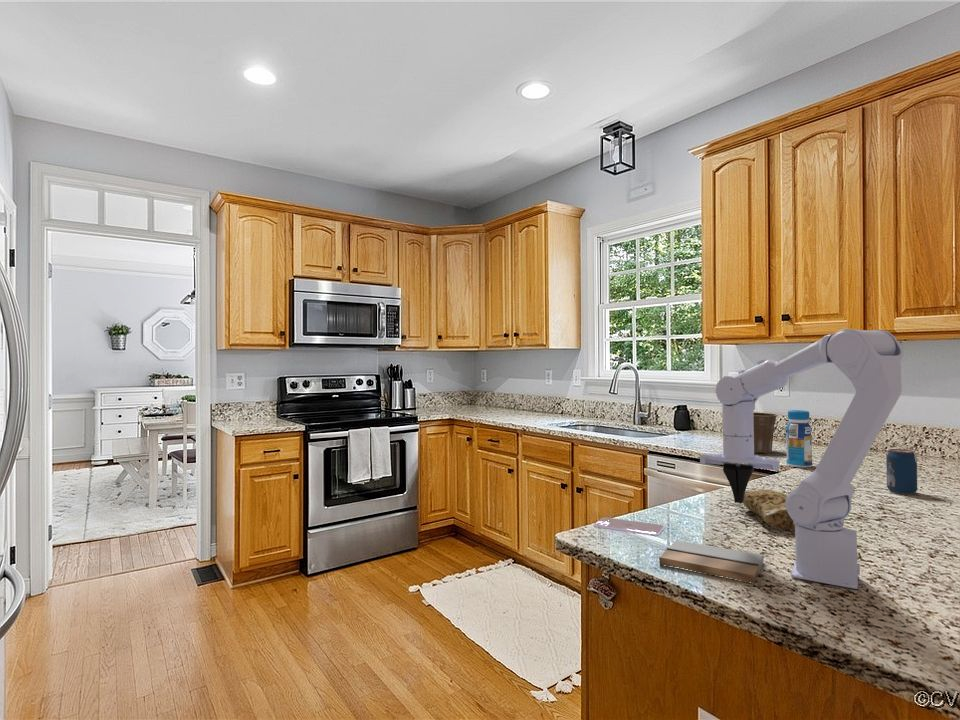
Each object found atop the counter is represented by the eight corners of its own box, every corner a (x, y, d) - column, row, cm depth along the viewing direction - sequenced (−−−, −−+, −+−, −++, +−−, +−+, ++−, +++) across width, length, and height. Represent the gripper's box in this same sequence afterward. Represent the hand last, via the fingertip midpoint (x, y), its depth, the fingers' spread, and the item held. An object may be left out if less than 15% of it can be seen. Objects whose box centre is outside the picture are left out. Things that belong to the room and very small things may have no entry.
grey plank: (763, 562, 101) (763, 554, 102) (759, 572, 97) (759, 564, 97) (676, 547, 111) (676, 540, 111) (668, 555, 106) (668, 548, 106)
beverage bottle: (782, 463, 200) (781, 409, 201) (806, 463, 199) (805, 409, 199) (792, 467, 192) (791, 411, 192) (817, 468, 191) (816, 411, 191)
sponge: (817, 540, 118) (799, 500, 136) (811, 507, 117) (793, 471, 135) (752, 544, 123) (743, 505, 141) (745, 513, 122) (736, 477, 140)
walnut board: (758, 573, 96) (758, 563, 96) (754, 584, 92) (754, 574, 92) (667, 556, 105) (667, 547, 105) (659, 565, 101) (659, 556, 101)
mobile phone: (658, 533, 118) (592, 523, 125) (658, 537, 118) (592, 528, 125) (665, 524, 124) (602, 515, 132) (665, 528, 124) (602, 519, 132)
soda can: (921, 492, 154) (920, 450, 154) (912, 496, 150) (911, 453, 150) (892, 488, 159) (891, 447, 160) (882, 491, 156) (882, 450, 156)
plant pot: (782, 451, 228) (782, 413, 228) (771, 456, 216) (770, 416, 217) (742, 447, 239) (741, 411, 240) (729, 452, 228) (728, 413, 228)
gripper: (780, 435, 109) (781, 502, 109) (704, 430, 117) (705, 493, 117) (776, 439, 103) (778, 510, 103) (697, 434, 111) (698, 500, 111)
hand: (739, 501), depth 110 cm, fingers closed
